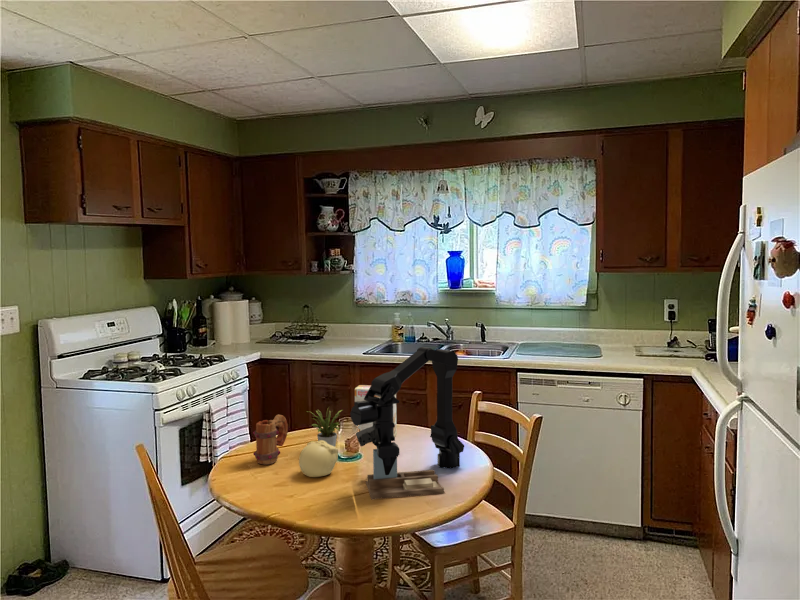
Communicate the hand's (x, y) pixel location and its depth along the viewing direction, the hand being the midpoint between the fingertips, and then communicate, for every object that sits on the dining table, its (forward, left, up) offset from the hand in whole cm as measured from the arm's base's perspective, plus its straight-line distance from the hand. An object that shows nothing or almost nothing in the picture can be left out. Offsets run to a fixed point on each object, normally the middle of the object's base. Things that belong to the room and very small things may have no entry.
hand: (384, 469), depth 186 cm
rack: (-5, +3, -6) cm, 9 cm away
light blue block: (0, 0, -5) cm, 5 cm away
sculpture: (+20, -16, -6) cm, 26 cm away
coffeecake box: (-4, -51, -6) cm, 52 cm away
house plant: (+17, -37, -6) cm, 41 cm away
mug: (+35, -32, -6) cm, 48 cm away
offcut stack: (-10, +6, -5) cm, 12 cm away
